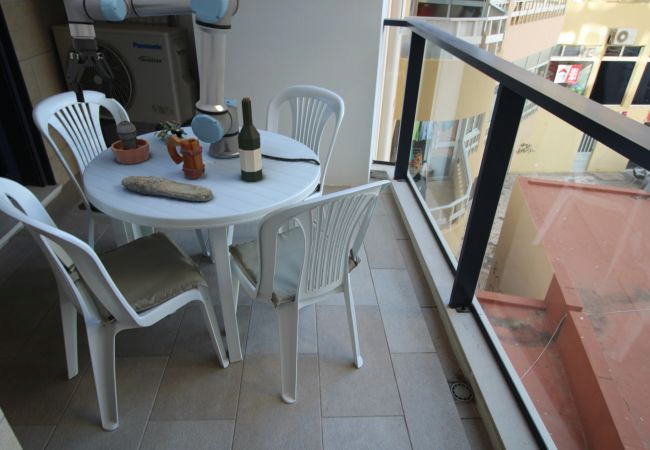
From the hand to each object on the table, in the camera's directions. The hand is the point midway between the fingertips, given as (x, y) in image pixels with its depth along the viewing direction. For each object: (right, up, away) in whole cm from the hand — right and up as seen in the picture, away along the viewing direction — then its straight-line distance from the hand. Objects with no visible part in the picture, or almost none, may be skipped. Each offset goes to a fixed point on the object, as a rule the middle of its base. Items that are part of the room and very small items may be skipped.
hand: (95, 100), depth 148 cm
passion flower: (+16, -8, +33) cm, 38 cm away
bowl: (+6, -19, +16) cm, 26 cm away
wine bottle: (+59, -29, +3) cm, 65 cm away
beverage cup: (+6, -19, +16) cm, 26 cm away
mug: (+34, -28, +4) cm, 44 cm away
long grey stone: (+31, -36, -9) cm, 48 cm away
